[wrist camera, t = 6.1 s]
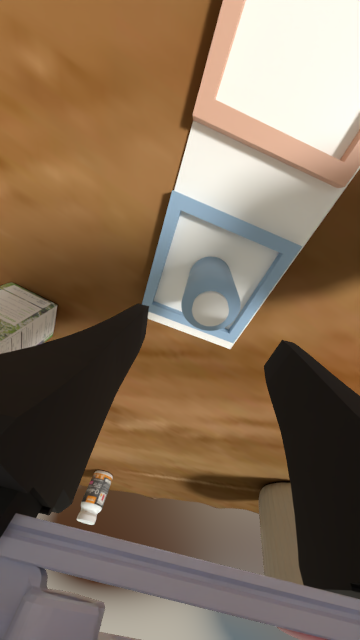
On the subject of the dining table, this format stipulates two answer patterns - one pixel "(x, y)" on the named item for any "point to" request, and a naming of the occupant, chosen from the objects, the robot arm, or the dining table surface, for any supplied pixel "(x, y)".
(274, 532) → the canister
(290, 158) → the region terracotta
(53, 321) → the syrup box
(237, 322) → the region blue
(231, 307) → the blue cylinder
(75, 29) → the dining table surface
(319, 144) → the sheet
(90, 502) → the pill bottle
